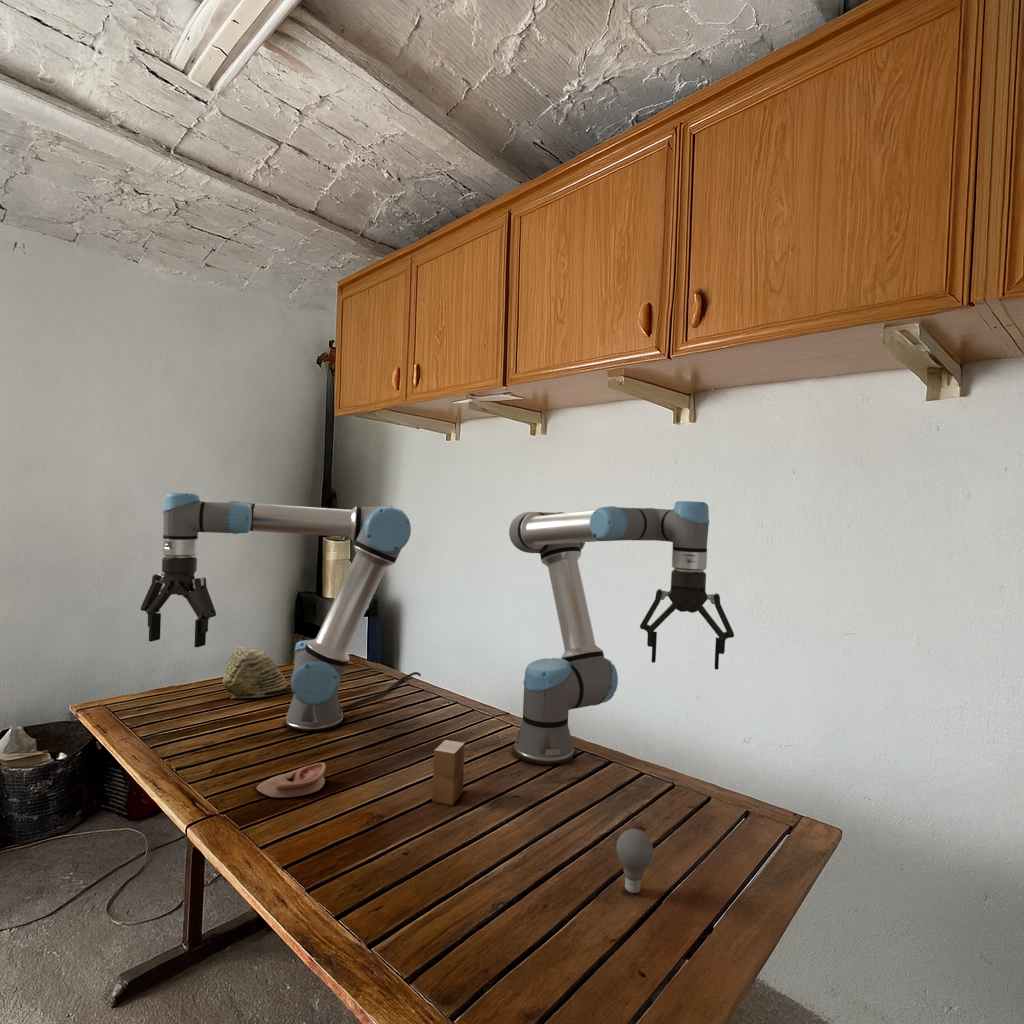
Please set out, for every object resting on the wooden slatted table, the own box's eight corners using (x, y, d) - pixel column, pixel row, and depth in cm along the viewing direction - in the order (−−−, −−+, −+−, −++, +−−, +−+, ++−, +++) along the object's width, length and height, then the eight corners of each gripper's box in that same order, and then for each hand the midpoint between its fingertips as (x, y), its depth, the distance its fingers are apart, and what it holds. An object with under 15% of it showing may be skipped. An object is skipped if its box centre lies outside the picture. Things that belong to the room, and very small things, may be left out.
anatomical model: (248, 775, 133) (279, 754, 144) (247, 794, 133) (278, 771, 144) (306, 783, 130) (332, 761, 142) (305, 802, 130) (332, 779, 142)
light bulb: (610, 879, 108) (613, 822, 108) (644, 879, 109) (647, 822, 109) (619, 902, 102) (622, 840, 102) (655, 901, 103) (658, 840, 103)
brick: (443, 789, 140) (445, 739, 140) (462, 792, 139) (464, 742, 138) (432, 801, 134) (434, 750, 134) (452, 805, 133) (454, 753, 132)
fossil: (218, 695, 195) (220, 647, 195) (278, 685, 208) (279, 640, 207) (228, 703, 189) (230, 653, 188) (289, 692, 201) (290, 645, 201)
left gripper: (125, 553, 154) (123, 641, 154) (211, 561, 147) (208, 652, 147) (151, 551, 161) (148, 635, 161) (233, 558, 154) (230, 645, 154)
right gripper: (630, 567, 142) (626, 662, 142) (749, 575, 135) (744, 675, 135) (634, 565, 149) (630, 654, 149) (746, 572, 142) (742, 666, 142)
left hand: (176, 643), depth 154 cm, fingers open, 13 cm apart
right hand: (684, 664), depth 142 cm, fingers open, 13 cm apart
